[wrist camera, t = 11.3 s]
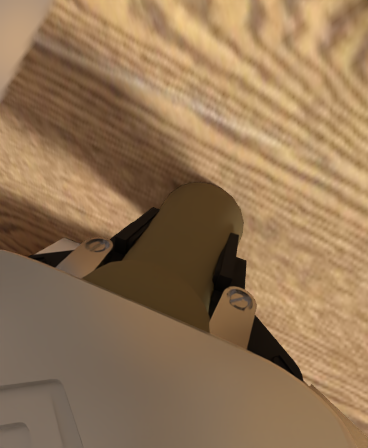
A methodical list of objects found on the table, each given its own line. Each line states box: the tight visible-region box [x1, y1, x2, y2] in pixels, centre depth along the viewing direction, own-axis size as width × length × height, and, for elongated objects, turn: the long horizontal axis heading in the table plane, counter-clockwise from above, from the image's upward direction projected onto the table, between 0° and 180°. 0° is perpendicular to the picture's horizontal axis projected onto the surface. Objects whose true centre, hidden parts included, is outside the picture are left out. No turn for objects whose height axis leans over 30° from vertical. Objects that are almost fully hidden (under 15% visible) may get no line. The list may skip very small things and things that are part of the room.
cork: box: [81, 182, 244, 333], centre depth 10 cm, size 6×6×11 cm
